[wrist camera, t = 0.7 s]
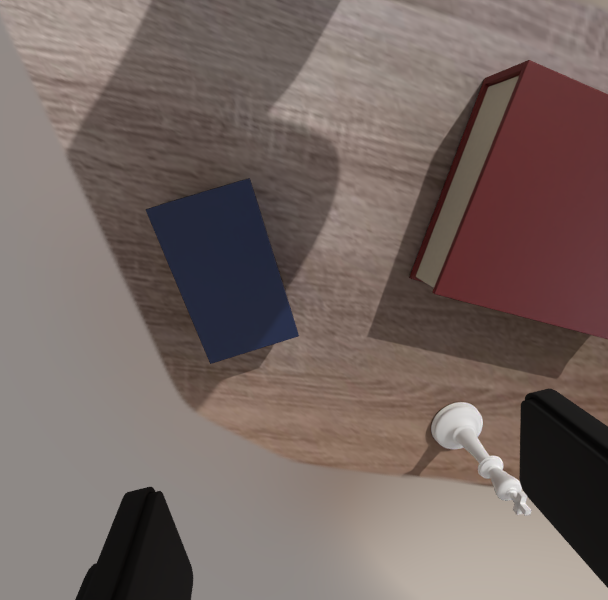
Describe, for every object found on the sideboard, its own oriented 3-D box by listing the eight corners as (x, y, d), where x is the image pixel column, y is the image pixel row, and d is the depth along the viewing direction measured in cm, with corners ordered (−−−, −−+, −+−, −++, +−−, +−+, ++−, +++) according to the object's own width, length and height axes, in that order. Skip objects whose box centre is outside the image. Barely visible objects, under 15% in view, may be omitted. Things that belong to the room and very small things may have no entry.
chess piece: (427, 446, 36) (489, 541, 27) (435, 402, 35) (503, 487, 25) (474, 443, 37) (550, 535, 27) (484, 400, 35) (568, 482, 26)
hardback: (408, 277, 30) (434, 294, 26) (484, 78, 26) (529, 59, 22) (600, 328, 34) (649, 350, 30) (691, 163, 30) (762, 162, 26)
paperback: (160, 204, 26) (145, 209, 22) (249, 177, 26) (249, 178, 22) (215, 340, 30) (210, 364, 26) (292, 315, 30) (299, 336, 26)
